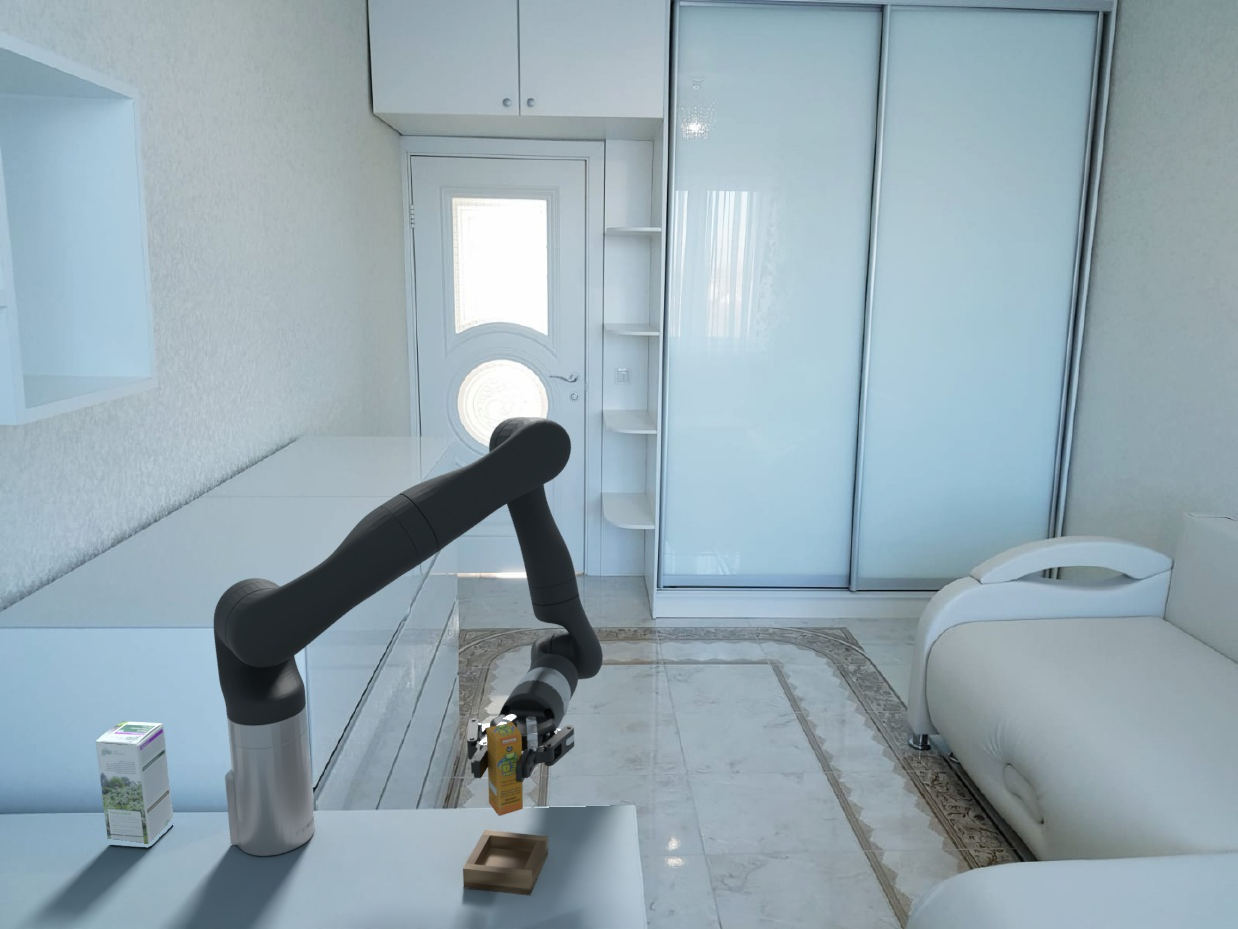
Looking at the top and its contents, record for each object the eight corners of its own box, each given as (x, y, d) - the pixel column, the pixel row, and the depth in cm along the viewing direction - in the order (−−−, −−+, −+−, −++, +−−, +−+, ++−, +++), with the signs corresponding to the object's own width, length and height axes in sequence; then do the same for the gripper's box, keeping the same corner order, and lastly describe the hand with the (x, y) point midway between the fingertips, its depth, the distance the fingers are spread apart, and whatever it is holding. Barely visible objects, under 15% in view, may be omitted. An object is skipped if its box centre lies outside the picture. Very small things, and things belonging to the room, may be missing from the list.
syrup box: (176, 824, 123) (165, 720, 120) (148, 851, 117) (137, 742, 114) (135, 822, 123) (123, 718, 121) (105, 848, 118) (93, 740, 115)
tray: (463, 888, 110) (462, 868, 109) (485, 848, 117) (484, 829, 117) (530, 895, 108) (529, 875, 108) (547, 854, 116) (547, 836, 115)
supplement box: (498, 818, 109) (494, 738, 107) (488, 804, 112) (484, 726, 110) (525, 810, 111) (521, 731, 109) (514, 796, 114) (511, 719, 112)
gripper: (483, 675, 124) (436, 738, 108) (589, 682, 122) (557, 747, 105) (486, 728, 126) (439, 797, 109) (590, 736, 123) (559, 808, 107)
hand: (498, 772), depth 108 cm, fingers closed on supplement box, 4 cm apart
